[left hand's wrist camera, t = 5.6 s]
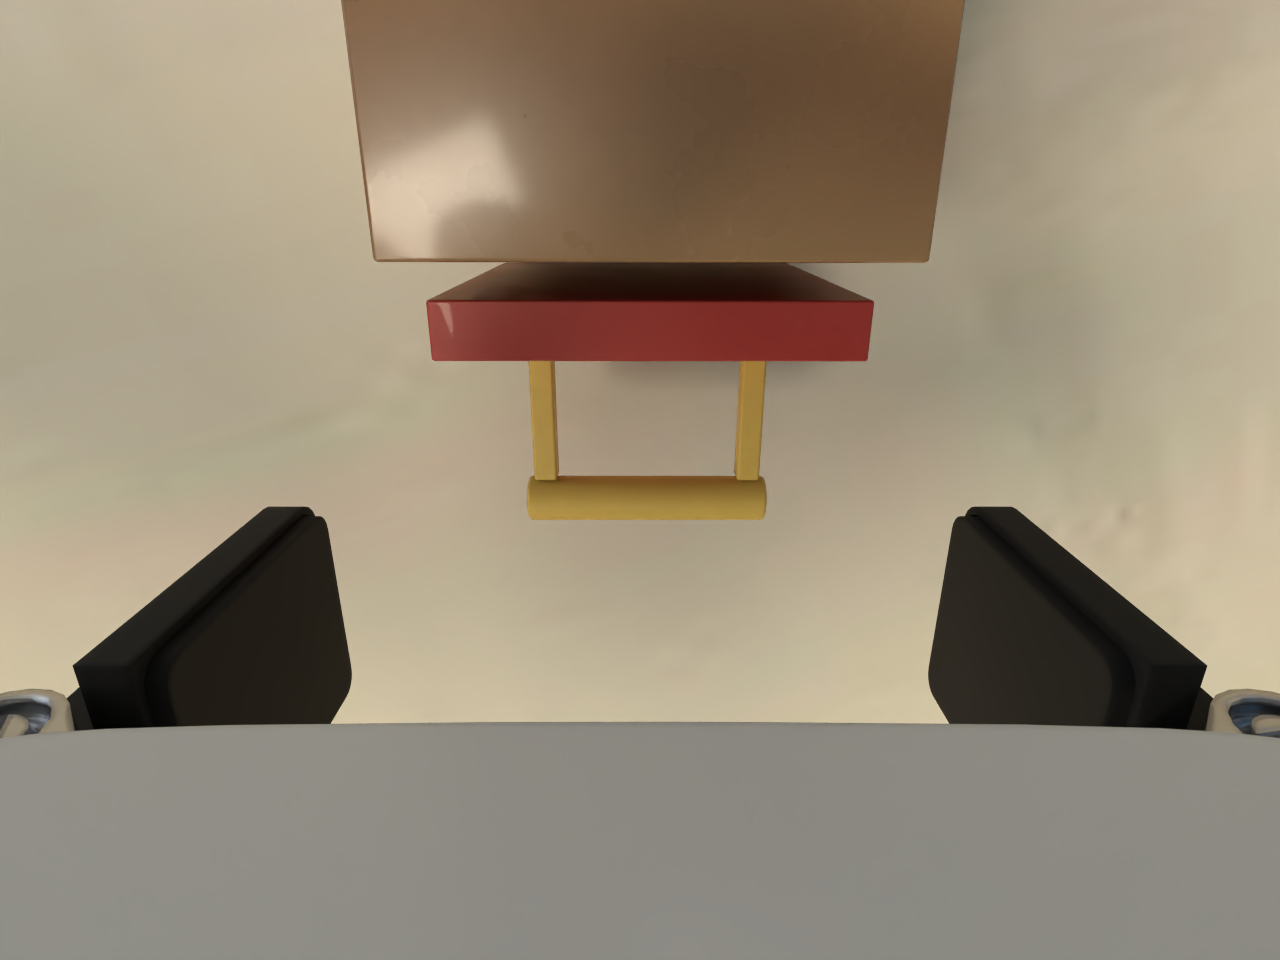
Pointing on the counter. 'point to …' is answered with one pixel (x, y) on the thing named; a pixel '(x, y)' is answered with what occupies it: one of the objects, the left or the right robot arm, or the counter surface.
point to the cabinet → (652, 128)
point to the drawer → (648, 359)
